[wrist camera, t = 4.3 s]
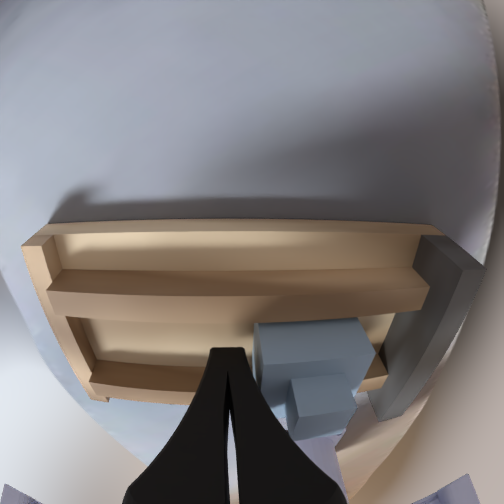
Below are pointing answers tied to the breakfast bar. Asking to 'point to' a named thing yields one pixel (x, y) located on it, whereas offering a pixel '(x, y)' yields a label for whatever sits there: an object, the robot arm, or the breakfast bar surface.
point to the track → (245, 297)
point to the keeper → (311, 372)
